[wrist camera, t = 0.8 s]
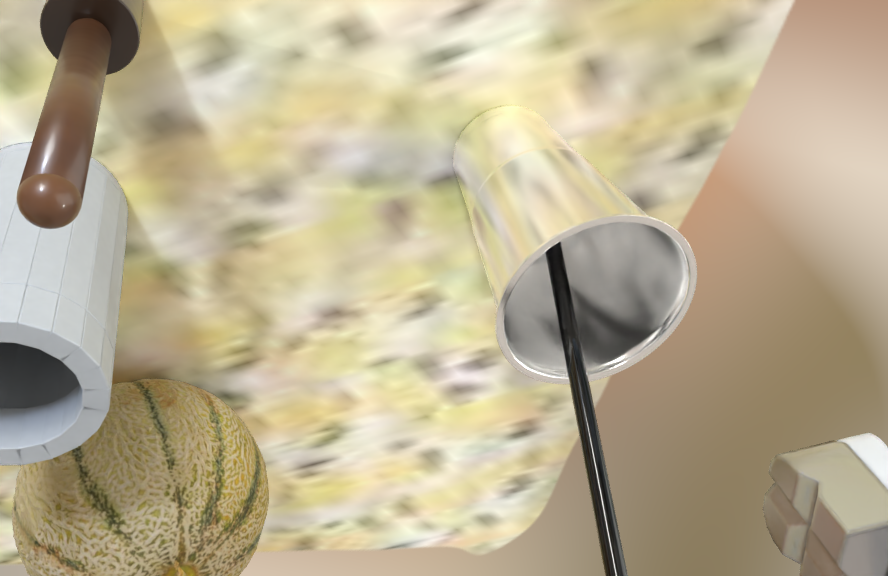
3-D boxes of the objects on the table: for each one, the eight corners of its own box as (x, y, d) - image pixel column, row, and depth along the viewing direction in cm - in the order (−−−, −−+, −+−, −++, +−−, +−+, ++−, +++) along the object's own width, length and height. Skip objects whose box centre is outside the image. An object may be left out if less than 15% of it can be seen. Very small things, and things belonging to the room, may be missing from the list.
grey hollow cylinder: (-62, 155, 42) (-154, 344, 31) (102, 130, 44) (73, 303, 32) (-1, 280, 47) (-60, 483, 36) (145, 254, 49) (133, 442, 37)
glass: (445, 263, 55) (633, 711, 32) (387, 120, 47) (577, 569, 24) (596, 201, 54) (895, 605, 32) (562, 49, 47) (917, 430, 24)
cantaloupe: (-5, 456, 55) (-55, 669, 44) (88, 300, 50) (58, 497, 38) (200, 504, 63) (203, 696, 51) (299, 374, 57) (328, 557, 46)
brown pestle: (41, -43, 38) (-56, 167, 23) (130, -53, 39) (94, 144, 23) (70, 41, 41) (0, 280, 25) (153, 30, 41) (134, 257, 26)
